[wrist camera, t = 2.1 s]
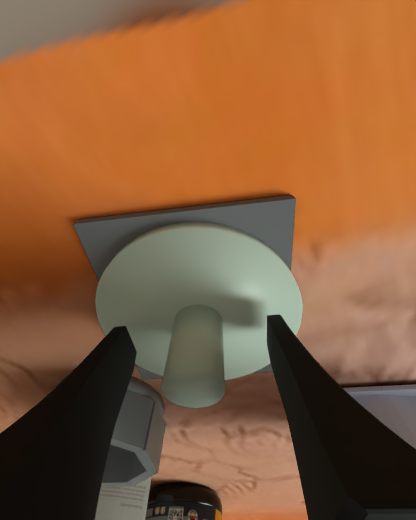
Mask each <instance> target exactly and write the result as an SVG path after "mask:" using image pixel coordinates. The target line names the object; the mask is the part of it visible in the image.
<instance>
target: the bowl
mask: <svg viewBox="0 0 416 520" xmlns="http://www.w3.org/2000/svg"><path fill="white" fill-rule="evenodd" d="M67 377H68V376H67ZM67 377H66V378H67ZM66 378H64V379H63V380H62V381H61V382H60V383H62V382H63V381H64V380H65V379H66ZM60 383H59V384H60ZM59 384H58V385H59ZM163 414H164V402H163V399H162V397H161V396H160V395H159V393H158V392H157V391H156V390H155V389H153V388H152V387H151V386H150V385H148V384H146V383H145V382H143V381H141V380H139V379H136V378H134V377H131V379H130V382H129V385H128V388H127V391H126V394H125V397H124V400H123V403H122V406H121V409H120V412H119V415H118V418H117V421H116V424H115V428H114V431H113V435H112V439H111V444H110V448H109V452H108V456H107V461H106V465H105V470H104V474H103V479H102V484H101V487H108V486H132V485H134V486H135V485H136V484H138V483H140V482H142V481H144V480H146V479H147V478H149V477H151V476H153V475H155V474H156V473H158V469H159V463H160V457H161V451H162V444H163V438H164V432H165V425H166V424H165V422H164V420H163Z"/></svg>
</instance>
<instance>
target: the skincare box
mask: <svg viewBox="0 0 416 520" xmlns="http://www.w3.org/2000/svg"><path fill="white" fill-rule="evenodd" d="M150 483H151V477H149V478H147V479H146V480H144V481H142V482H140V483H138V484H136V485H135V486H134V485H132V486H108V487H101V489H100V494H99V499H98V504H97V510H96V516H95V520H145V517H146V510H147V503H148V496H149V489H150Z"/></svg>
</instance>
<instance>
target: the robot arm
mask: <svg viewBox="0 0 416 520" xmlns="http://www.w3.org/2000/svg"><path fill="white" fill-rule="evenodd" d="M267 347H268V353H269V358H270V363H271V366H272V370H273V373H274V376H275V380H276V383H277V386H278V389H279V393H280V396H281V399H282V402H283V406H284V409H285V412H286V416H287V420H288V423H289V428H290V432H291V437H292V442H293V446H294V451H295V455H296V460H297V465H298V470H299V474H300V479H301V484H302V489H303V494H304V499H305V504H306V509H307V514H308V520H416V384H413V385H392V386H372V387H351V388H342V387H341V386H340V385H339V384H338V383H337V382H336V381H335V380H334V379H333V378H332V377H331V376H330V375H329V374H328V373H327V372H326V371H325V370H324V369H323V368H322V367H321V365H320V364H319V363H318V362H317V361H316V360H315V359H314V358H313V357H312V355H311V354H310V353H309V352H308V351H307V349H306V348H305V347H304V346H303V345H302V343H301V342H300V341H299V340H298V338H297V337H296V336H295V334H294V333H293V332H292V330H291V329H290V328H289V326H288V325H287V323H286V322H285V320H284V319H283V317H282V316H281V315H280V314H278V315H267ZM136 354H137V351H136V349H135V346H134V344H133V342H132V339H131V337H130V335H129V332H128V330H127V328H126V326H119V327H114V328H113V329H112V330H111V331H110V332H109V333H108V334H107V335H106V337H105V338H104V339H103V340H102V341H101V342H100V343H99V344H98V345H97V346H96V348H95V349H94V350H93V351H92V352H91V353H90V354H89V355H88V356H87V357H86V358H85V359H84V360H83V361H82V363H81V364H80V365H79V366H78V367H77V368H76V369H75V370H74V371H73V372H72V373H71V374H70V375H69V376H68V377H67V378H66V379H65V380H64V381H63V382H62V383H60V384H59V385H58V386H57V387H56V388H55V389H54V390H53V391H52V392H51V393H50V394H48V395H47V396H46V397H45V398H44V399H43V400H42V401H41V402H39V403H38V404H37V405H36V406H35V407H33V408H32V409H31V410H30V411H28V412H27V413H26V414H25V415H23V416H22V417H21V418H20V419H18V420H17V421H16V422H15V423H14V424H12V425H11V426H10V427H8V428H7V429H6V430H4V431H3V432H2V433H0V520H95V516H96V510H97V504H98V499H99V494H100V489H101V484H102V479H103V474H104V470H105V465H106V461H107V456H108V452H109V448H110V444H111V439H112V435H113V431H114V428H115V424H116V421H117V418H118V415H119V412H120V409H121V406H122V403H123V400H124V397H125V394H126V391H127V388H128V385H129V382H130V379H131V376H132V373H133V369H134V364H135V360H136Z"/></svg>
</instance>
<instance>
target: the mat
mask: <svg viewBox="0 0 416 520" xmlns="http://www.w3.org/2000/svg"><path fill="white" fill-rule="evenodd" d="M295 204H296V198H295V197H294V196H292V195H286V196H277V197H269V198H260V199H251V200H243V201H234V202H226V203H217V204H208V205H200V206H191V207H182V208H174V209H165V210H157V211H148V212H139V213H131V214H122V215H113V216H105V217H96V218H88V219H79V220H78V221H77V222H75V223H74V224H73V225H74V228H75V230H76V232H77V234H78V237H79V239H80V241H81V243H82V246H83V248H84V250H85V252H86V254H87V257H88V259H89V261H90V263H91V266H92V268H93V270H94V272H95V274H96V277H97V279H98V281H99V280H100V278H101V276H102V274H103V273H104V271H105V269H106V268H107V266H108V265H109V264H110V262H111V261H112V260H113V259H114V257H115V256H116V255H117V253H118V252H119V251H120V250H121V249H122V248H123V247H125V246H126V245H127V244H128V243H129V242H131V241H132V240H134V239H135V238H137V237H138V236H140V235H142V234H144V233H146V232H148V231H151V230H153V229H156V228H159V227H162V226H166V225H170V224H176V223H182V222H208V223H217V224H221V225H226V226H230V227H233V228H236V229H239V230H242V231H245V232H247V233H249V234H251V235H253V236H255V237H257V238H259V239H260V240H261V241H263V242H264V243H266V244H267V245H269V246H270V247H271V248H272V249H273V250H274V251H275V252H277V253H278V254H279V255H280V257H281V258H282V259H283V260H284V262H285V263H286V264H287V266H288V268H289V269H290V271H291V261H292V247H293V232H294V218H295ZM136 366H137V368H138V370H139V372H140V375H141V377H142V379H158V378H163V376H161V375H158V374H155V373H153V372H150V371H148V370H146V369H144V368H142V367H140V366H138V365H136ZM266 372H273V370H272V366H271V363H270V364H269V365H267V366H265V367H263V368H262V369H260V370H258V371H255V372H253V373H266Z"/></svg>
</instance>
